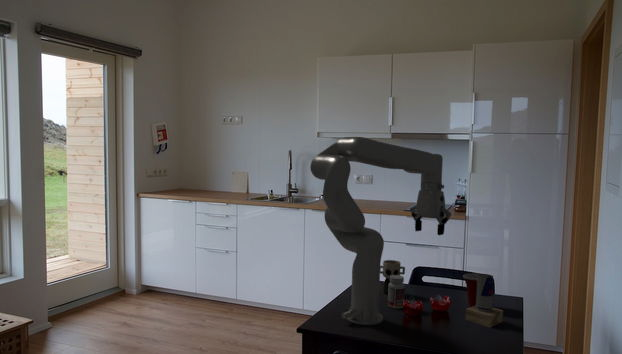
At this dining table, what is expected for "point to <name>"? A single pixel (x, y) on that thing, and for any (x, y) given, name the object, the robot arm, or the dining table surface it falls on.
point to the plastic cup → (471, 288)
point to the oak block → (484, 316)
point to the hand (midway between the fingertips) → (429, 232)
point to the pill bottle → (396, 291)
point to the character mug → (390, 271)
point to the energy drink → (484, 292)
